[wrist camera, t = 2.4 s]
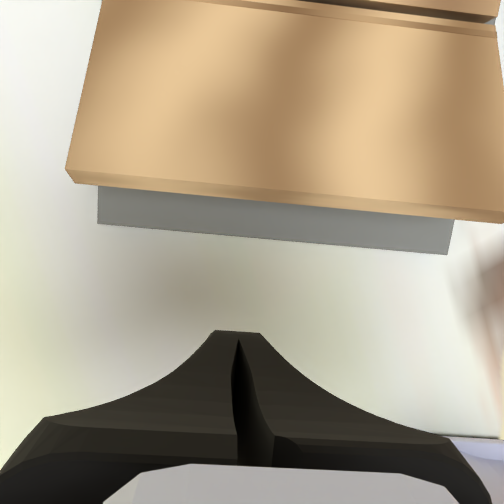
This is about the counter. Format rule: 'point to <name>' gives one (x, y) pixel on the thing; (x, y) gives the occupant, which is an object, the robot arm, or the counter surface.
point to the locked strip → (428, 8)
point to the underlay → (273, 220)
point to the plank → (294, 106)
